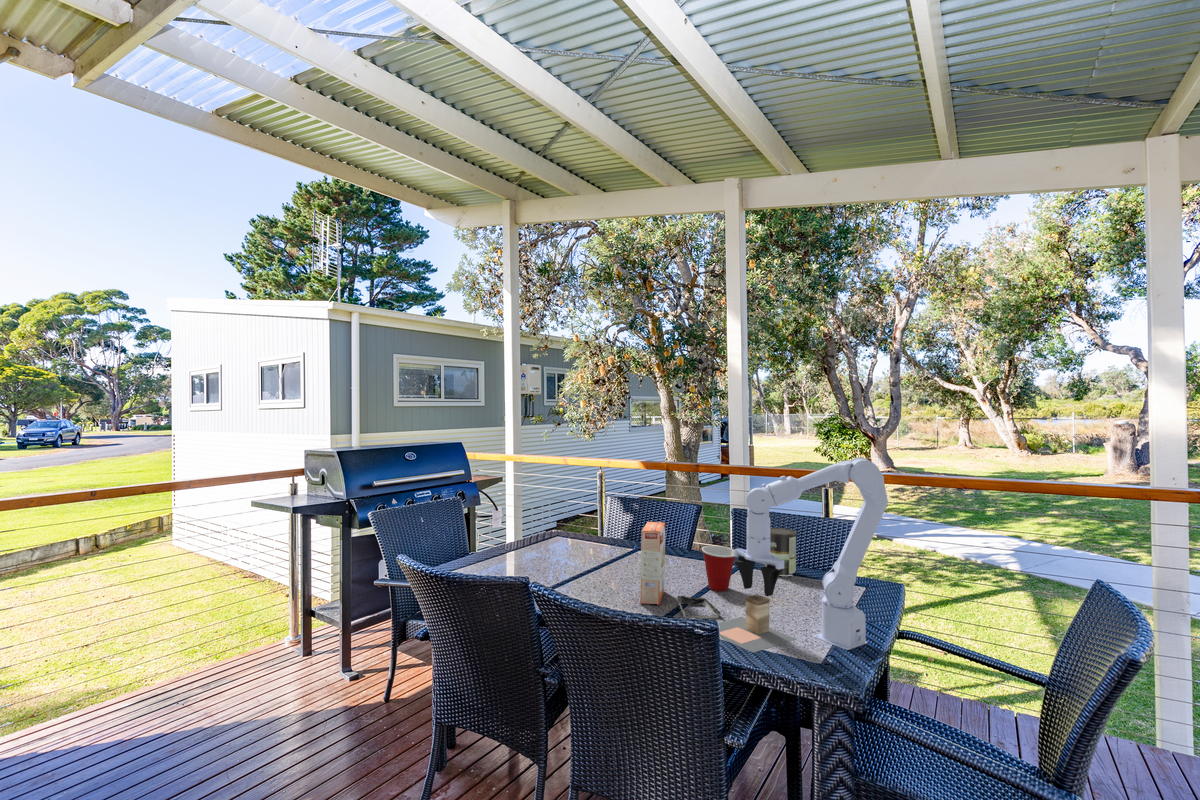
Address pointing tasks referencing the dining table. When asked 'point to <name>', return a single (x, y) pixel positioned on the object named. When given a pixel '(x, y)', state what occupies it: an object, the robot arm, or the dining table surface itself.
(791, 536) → the coffee can
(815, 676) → the dining table surface
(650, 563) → the cracker box
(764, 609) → the maple block
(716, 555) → the plastic cup
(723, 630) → the rubber mat
